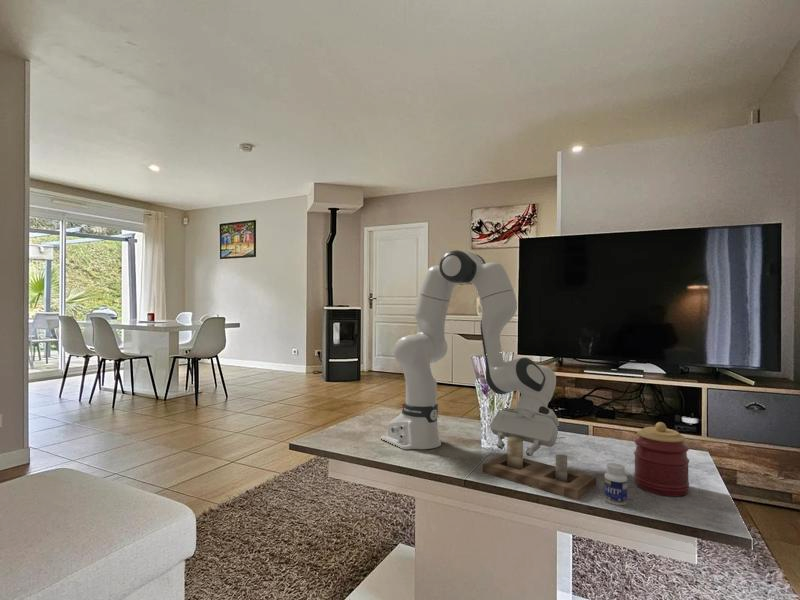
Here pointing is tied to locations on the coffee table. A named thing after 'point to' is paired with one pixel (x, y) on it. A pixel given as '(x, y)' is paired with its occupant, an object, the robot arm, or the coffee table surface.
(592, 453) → the coffee table surface
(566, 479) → the wooden peg holder
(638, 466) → the canister
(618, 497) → the pill bottle
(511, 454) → the wooden peg
